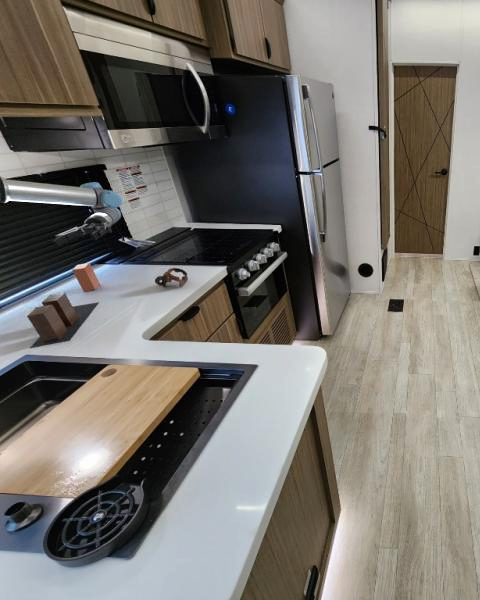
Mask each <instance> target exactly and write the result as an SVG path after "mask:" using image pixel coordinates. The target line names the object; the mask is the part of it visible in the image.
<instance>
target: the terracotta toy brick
mask: <svg viewBox="0 0 480 600" xmlns="http://www.w3.org/2000/svg"><path fill="white" fill-rule="evenodd" d="M71 271H72V273H73V275H74V277H75V278H76V280H77V282H78V284H79V286H80V288H81V290H82V291H83V292H85V293H86V292H92V291H96V290H97V289H98V288H99V287H100V286H101V283H100V281H99V278H98V277H97V275H96V272H95V270H94V268H93V267H92V265H91V263H90V262H87V263H79V264H77V265H75V267H73V268H72V269H71Z"/></svg>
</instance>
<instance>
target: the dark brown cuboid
mask: <svg viewBox="0 0 480 600" xmlns="http://www.w3.org/2000/svg"><path fill="white" fill-rule="evenodd" d="M26 317H27V319H28V321H29V322H30V323H31V325H32V327H33V328H34V329H35V331H36V332H37V334H38V336H39V337H41V339H42V340H43V342H44V343H45V342H51V341H56V340H60V339H61V338H62V337H63V335H64V334H65V333H66V332H67V331H68V330H67V328H66V327H65V325H64V323H63V322H62V320H61V318H60V317H59V315H58V313H57V312H56V310H55V308H54V307H53V305H47V306H43V305H42V306H36V307H35V308H34V309H32V311H30V313H28V314H27V315H26Z"/></svg>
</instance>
